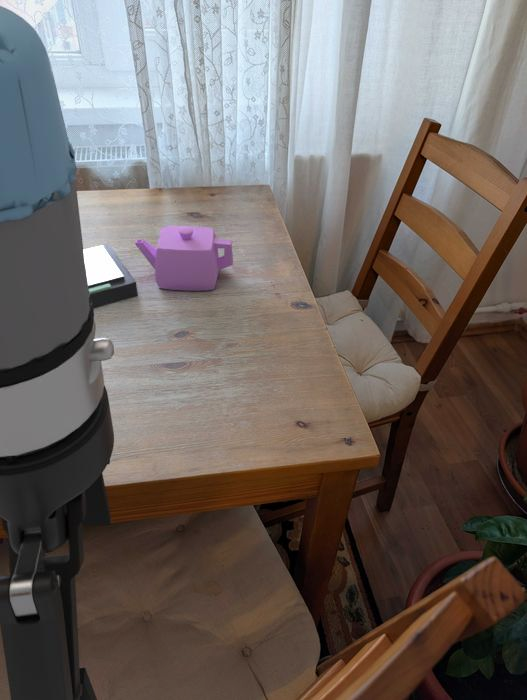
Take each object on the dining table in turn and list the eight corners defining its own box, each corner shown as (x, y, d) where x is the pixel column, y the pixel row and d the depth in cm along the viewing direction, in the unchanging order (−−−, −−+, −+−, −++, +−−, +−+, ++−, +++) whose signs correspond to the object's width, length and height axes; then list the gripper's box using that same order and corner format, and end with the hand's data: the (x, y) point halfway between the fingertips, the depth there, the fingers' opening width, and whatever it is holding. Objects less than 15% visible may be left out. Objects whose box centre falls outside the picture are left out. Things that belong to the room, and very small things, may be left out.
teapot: (135, 290, 97) (128, 242, 90) (144, 260, 105) (138, 213, 98) (231, 294, 98) (232, 246, 91) (233, 263, 106) (234, 217, 99)
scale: (55, 319, 90) (50, 302, 88) (34, 275, 100) (29, 259, 97) (138, 295, 96) (135, 279, 94) (110, 256, 106) (108, 240, 103)
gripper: (82, 694, 15) (136, 823, 29) (118, 260, 34) (141, 462, 48) (-207, 739, 14) (-9, 852, 28) (-6, 262, 33) (54, 470, 46)
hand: (86, 606), depth 38 cm, fingers open, 13 cm apart
